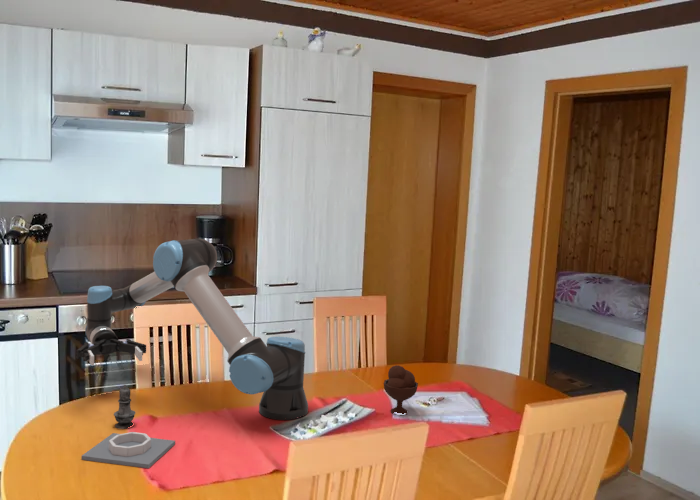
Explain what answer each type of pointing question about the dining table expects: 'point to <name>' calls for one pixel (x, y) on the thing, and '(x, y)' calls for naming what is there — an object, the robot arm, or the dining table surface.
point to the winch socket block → (129, 450)
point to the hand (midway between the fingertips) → (117, 358)
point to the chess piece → (124, 410)
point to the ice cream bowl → (400, 386)
